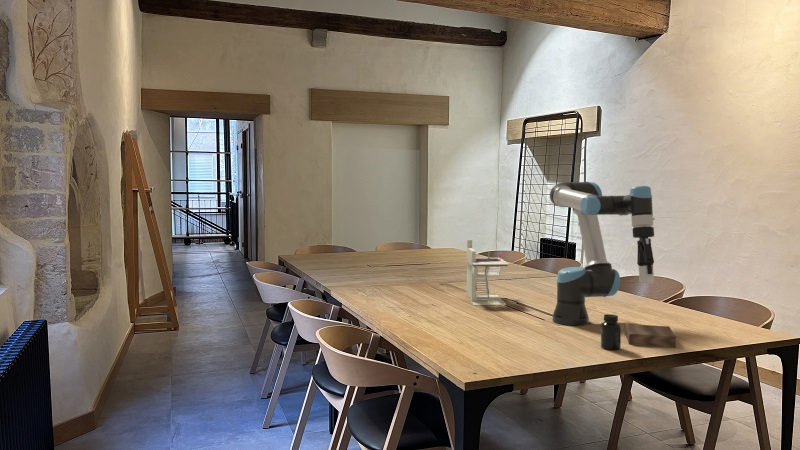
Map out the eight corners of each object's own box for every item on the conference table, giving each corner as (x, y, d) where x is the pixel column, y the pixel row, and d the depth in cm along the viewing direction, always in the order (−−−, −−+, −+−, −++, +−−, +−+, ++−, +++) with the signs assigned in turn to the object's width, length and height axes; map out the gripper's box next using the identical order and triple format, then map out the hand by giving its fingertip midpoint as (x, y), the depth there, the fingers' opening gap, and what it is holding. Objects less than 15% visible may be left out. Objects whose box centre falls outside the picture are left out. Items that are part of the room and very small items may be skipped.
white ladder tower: (510, 305, 290) (511, 245, 288) (473, 305, 290) (474, 245, 288) (500, 294, 317) (501, 239, 315) (466, 295, 317) (467, 239, 315)
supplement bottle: (616, 345, 218) (616, 313, 217) (623, 350, 211) (624, 317, 210) (597, 345, 218) (598, 313, 217) (604, 350, 211) (605, 317, 210)
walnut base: (629, 344, 219) (629, 333, 219) (625, 333, 235) (625, 323, 234) (675, 347, 215) (676, 336, 215) (668, 336, 230) (669, 326, 230)
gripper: (660, 223, 210) (664, 283, 208) (647, 229, 234) (651, 282, 232) (637, 224, 212) (641, 283, 210) (627, 229, 236) (631, 282, 234)
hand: (646, 283), depth 221 cm, fingers open, 13 cm apart
